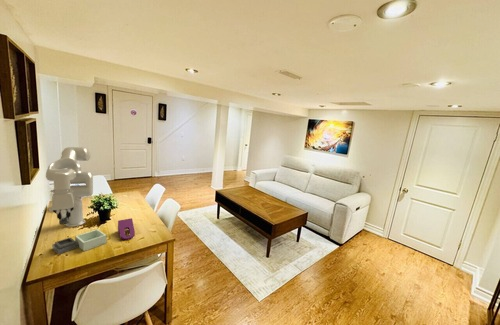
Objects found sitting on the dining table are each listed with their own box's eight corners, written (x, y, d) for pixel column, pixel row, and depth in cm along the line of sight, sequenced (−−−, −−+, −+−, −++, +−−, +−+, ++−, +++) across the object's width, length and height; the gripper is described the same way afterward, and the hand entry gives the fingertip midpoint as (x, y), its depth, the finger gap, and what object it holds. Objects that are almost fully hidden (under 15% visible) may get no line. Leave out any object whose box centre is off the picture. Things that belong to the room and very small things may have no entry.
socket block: (52, 248, 132) (52, 242, 131) (72, 242, 140) (71, 236, 139) (58, 254, 126) (57, 247, 126) (78, 247, 135) (77, 241, 134)
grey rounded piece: (58, 225, 128) (57, 205, 126) (60, 222, 132) (58, 203, 130) (68, 223, 131) (67, 204, 128) (69, 220, 134) (68, 202, 132)
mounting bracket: (134, 243, 155) (131, 225, 167) (135, 236, 151) (132, 218, 163) (120, 246, 149) (117, 227, 161) (120, 239, 145) (118, 220, 157)
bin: (75, 244, 138) (75, 236, 137) (97, 236, 149) (97, 229, 149) (83, 251, 132) (83, 242, 131) (106, 242, 143) (106, 234, 142)
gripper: (42, 194, 120) (45, 223, 123) (79, 191, 130) (80, 218, 133) (44, 190, 125) (46, 218, 128) (79, 188, 136) (80, 213, 139)
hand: (64, 218), depth 131 cm, fingers closed on grey rounded piece, 3 cm apart
